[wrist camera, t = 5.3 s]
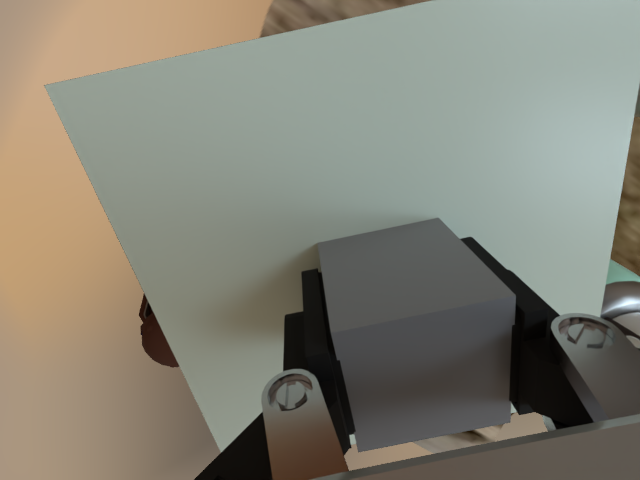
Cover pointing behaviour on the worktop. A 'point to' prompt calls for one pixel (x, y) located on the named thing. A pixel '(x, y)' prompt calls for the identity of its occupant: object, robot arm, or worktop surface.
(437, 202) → the cover
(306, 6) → the worktop surface
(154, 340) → the ice cream bowl
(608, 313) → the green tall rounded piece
